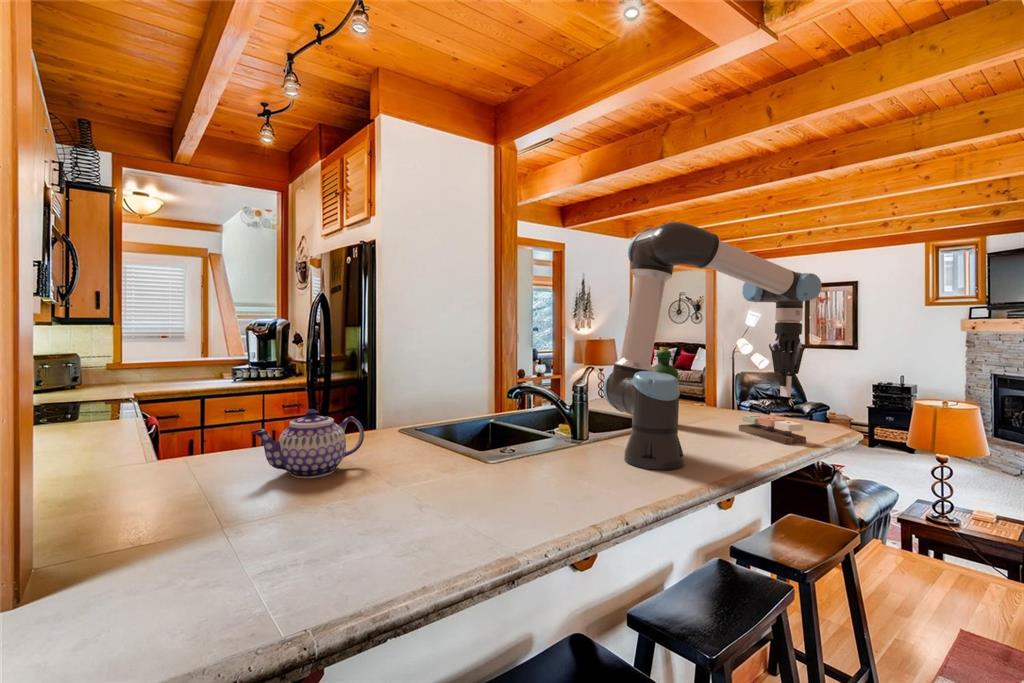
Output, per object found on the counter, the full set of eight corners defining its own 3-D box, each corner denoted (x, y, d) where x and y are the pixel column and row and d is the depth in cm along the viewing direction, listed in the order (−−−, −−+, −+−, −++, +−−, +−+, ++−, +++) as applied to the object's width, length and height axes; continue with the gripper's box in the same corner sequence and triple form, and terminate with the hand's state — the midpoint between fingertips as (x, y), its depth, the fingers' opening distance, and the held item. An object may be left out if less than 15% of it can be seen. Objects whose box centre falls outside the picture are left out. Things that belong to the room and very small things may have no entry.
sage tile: (754, 430, 168) (754, 418, 168) (742, 427, 173) (742, 415, 173) (767, 430, 169) (768, 417, 169) (755, 426, 175) (755, 414, 174)
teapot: (354, 456, 132) (355, 400, 132) (374, 471, 120) (375, 409, 119) (248, 471, 118) (248, 408, 117) (258, 490, 105) (258, 420, 105)
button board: (785, 444, 154) (785, 438, 154) (738, 430, 173) (738, 424, 173) (805, 443, 156) (806, 436, 156) (757, 429, 175) (757, 423, 175)
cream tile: (788, 438, 154) (788, 424, 154) (774, 434, 160) (774, 421, 159) (802, 437, 156) (802, 423, 156) (788, 433, 161) (788, 420, 161)
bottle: (673, 422, 186) (676, 346, 184) (680, 428, 175) (682, 348, 174) (644, 421, 187) (646, 346, 185) (649, 427, 176) (651, 347, 175)
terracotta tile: (770, 433, 161) (771, 420, 161) (757, 429, 166) (758, 416, 166) (784, 432, 163) (784, 419, 162) (771, 428, 168) (771, 416, 168)
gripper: (782, 321, 152) (778, 398, 153) (814, 322, 156) (811, 397, 157) (762, 321, 159) (759, 395, 160) (794, 322, 163) (791, 394, 164)
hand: (785, 396), depth 159 cm, fingers closed
